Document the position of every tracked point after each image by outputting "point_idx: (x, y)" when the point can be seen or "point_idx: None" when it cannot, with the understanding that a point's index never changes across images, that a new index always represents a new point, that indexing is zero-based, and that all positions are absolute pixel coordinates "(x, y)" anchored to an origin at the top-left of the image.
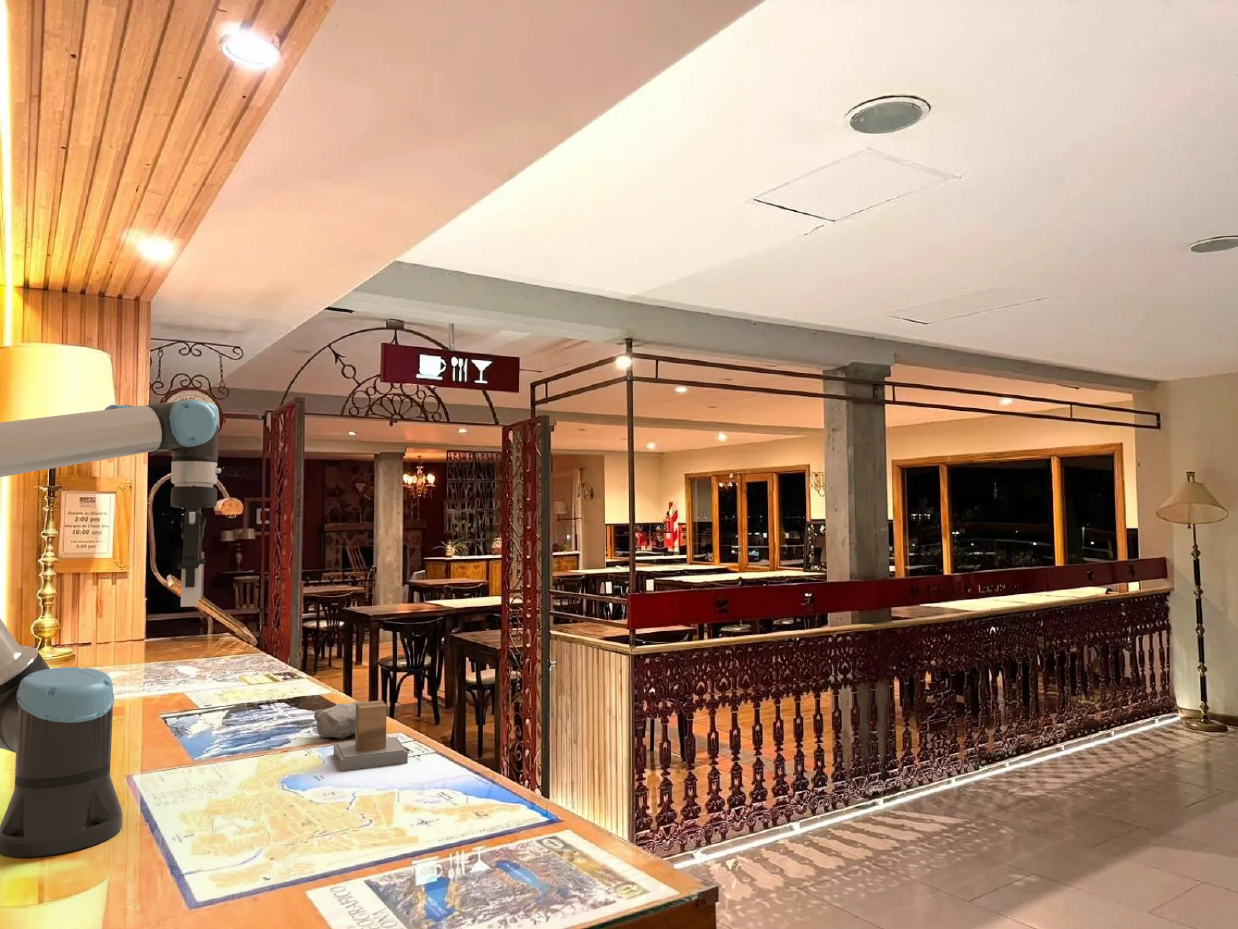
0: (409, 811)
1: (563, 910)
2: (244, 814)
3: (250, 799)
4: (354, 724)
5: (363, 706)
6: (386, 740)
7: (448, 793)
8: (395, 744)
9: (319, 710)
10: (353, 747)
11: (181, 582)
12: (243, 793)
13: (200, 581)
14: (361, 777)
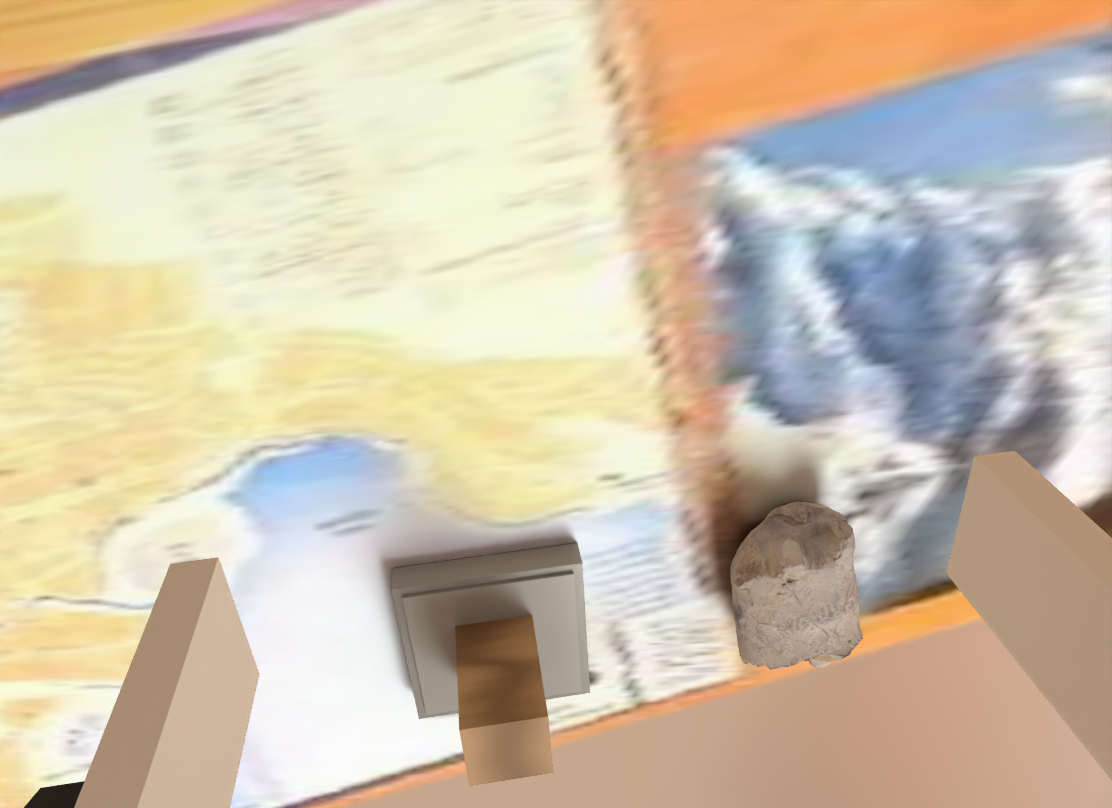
0: (4, 707)
1: None
2: (17, 375)
3: (165, 376)
4: (733, 612)
5: (479, 737)
6: (548, 678)
7: None
8: None
9: (839, 549)
10: (502, 613)
11: (79, 803)
12: (233, 351)
13: (1062, 715)
14: (317, 612)
